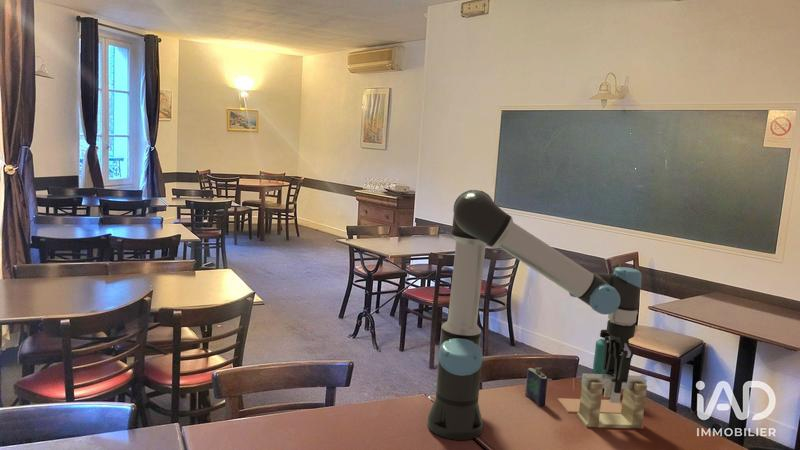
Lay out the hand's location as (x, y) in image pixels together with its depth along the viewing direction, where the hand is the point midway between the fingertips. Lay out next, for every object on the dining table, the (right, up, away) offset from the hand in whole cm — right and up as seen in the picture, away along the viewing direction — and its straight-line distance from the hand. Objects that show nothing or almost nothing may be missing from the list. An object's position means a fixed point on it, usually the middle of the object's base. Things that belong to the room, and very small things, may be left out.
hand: (611, 399), depth 168 cm
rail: (0, +4, -1) cm, 4 cm away
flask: (-19, -4, +13) cm, 23 cm away
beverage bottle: (+6, -4, +26) cm, 27 cm away
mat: (-1, -6, +11) cm, 12 cm away
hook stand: (0, -7, +1) cm, 7 cm away
